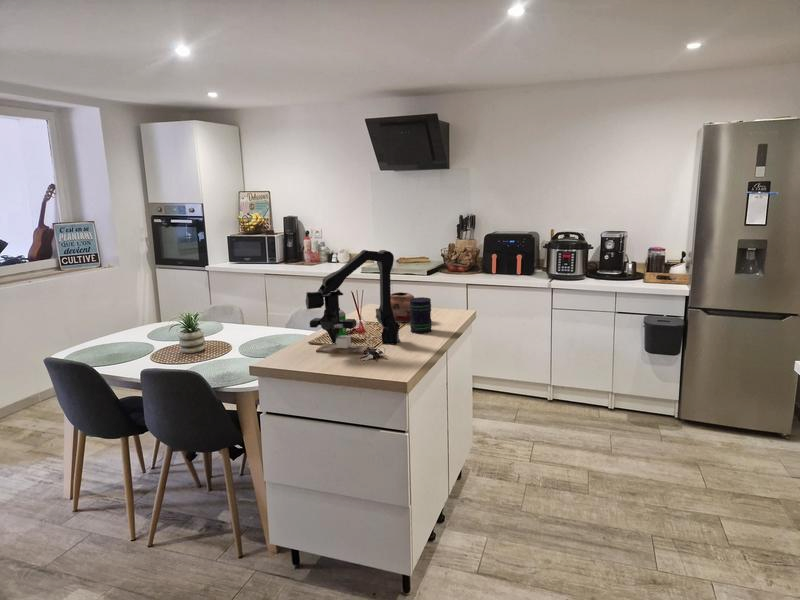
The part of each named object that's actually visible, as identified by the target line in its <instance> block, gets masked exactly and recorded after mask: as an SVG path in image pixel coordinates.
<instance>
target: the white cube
mask: <svg viewBox="0 0 800 600" xmlns="http://www.w3.org/2000/svg"><path fill="white" fill-rule="evenodd" d="M351 342H352V340H351V335H346V336H339V337H338V338H336V343H335V344H336V345H337V348H348V347H349V346H351V345H352V344H351Z"/></svg>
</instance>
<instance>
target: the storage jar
mask: <svg viewBox="0 0 800 600" xmlns="http://www.w3.org/2000/svg"><path fill="white" fill-rule="evenodd" d="M410 312H411V320H410V321H409V326H410V333H411V332H412V334H414V333H415V334H416V335H424V333H426V334H430V333H431V332H432V325H433V324H432V322H433V321H432V318H431V317H432V316H431V314H432V313H431V312H432V303H431V298H430V297H414V298H412V299H410ZM429 332H430V333H429Z"/></svg>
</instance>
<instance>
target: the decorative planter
mask: <svg viewBox="0 0 800 600" xmlns="http://www.w3.org/2000/svg"><path fill="white" fill-rule="evenodd" d="M412 298H415V296H414V295H413V294H412V293H410V292H403V291H401V292H399V291H398V292H393V293H391V308H392V310H393V314H394V321H396V322H397V323H408V322H409V323H410V320H411V312H410V299H412Z"/></svg>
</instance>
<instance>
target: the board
mask: <svg viewBox="0 0 800 600" xmlns="http://www.w3.org/2000/svg"><path fill="white" fill-rule="evenodd" d="M368 347H369V348H370V346H369V345H358V344H357V345H356V344H351V346H349V347H348V348H337V344H336V343H335V344H333V343H331V344H330V343H329V344H328V343H323V344H322V345H321V346H319V347H318V348H317V349H316V350H315V353H316V352H324V353H325V354H342V355H344V354H347V355H363V354H365V352H366V351H367V350H368V349H367V348H368ZM366 349H367V350H366ZM365 350H366V351H365ZM364 351H365V352H364Z"/></svg>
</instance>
